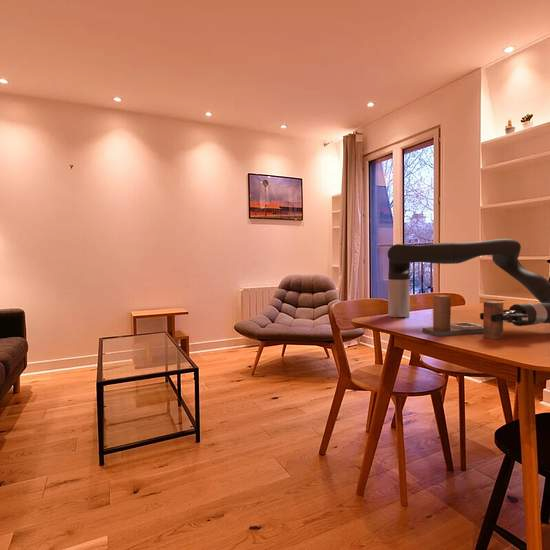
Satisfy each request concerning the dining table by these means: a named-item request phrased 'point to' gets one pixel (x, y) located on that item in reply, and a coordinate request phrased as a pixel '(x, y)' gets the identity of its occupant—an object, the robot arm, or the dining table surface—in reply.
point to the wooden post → (491, 328)
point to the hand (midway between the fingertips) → (486, 317)
